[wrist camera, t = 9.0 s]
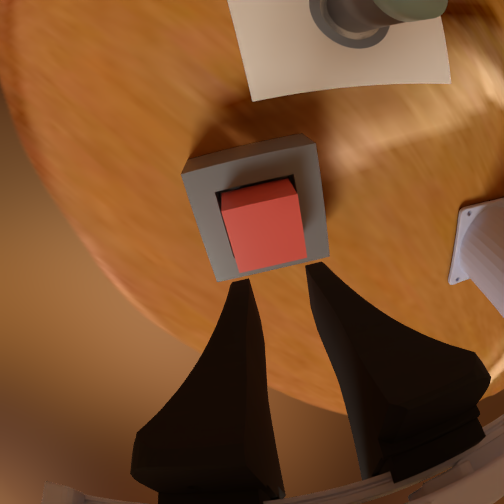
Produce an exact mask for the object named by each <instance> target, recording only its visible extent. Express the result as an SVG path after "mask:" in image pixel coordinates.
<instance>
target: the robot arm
mask: <svg viewBox="0 0 504 504" xmlns="http://www.w3.org/2000/svg"><path fill="white" fill-rule="evenodd" d="M468 211H469V212H468ZM305 268H306V275H307V282H308V290H309V297H310V305H311V309H312V313H313V316H314V320H315V323H316V327H317V330H318V332H319V335H320V337H321V340H322V342H323V345H324V347H325V349H326V352H327V354H328V357H329V359H330V361H331V364H332V366H333V369H334V371H335V374H336V376H337V379H338V382H339V385H340V388H341V392H342V395H343V399H344V402H345V406H346V410H347V414H348V418H349V422H350V426H351V430H352V434H353V438H354V443H355V447H356V452H357V457H358V461H359V466H360V471H361V477H362V481H359V482H356V483H352V484H349V485H345V486H342V487H338V488H334V489H330V490H325V491H321V492H317V493H312V494H307V495H302V496H296V497H291V498H285V499H283V498H284V497H285V490H284V486H283V480H282V475H281V470H280V465H279V459H278V454H277V449H276V444H275V437H274V432H273V426H272V420H271V414H270V408H269V402H268V392H267V375H266V358H265V343H264V336H263V331H262V325H261V320H260V316H259V312H258V309H257V305H256V301H255V298H254V294H253V291H252V287H251V284H250V280H249V279H245V280H240V281H236V282H232V284H231V285H230V289H229V292H228V296H227V299H226V302H225V305H224V308H223V310H222V313H221V315H220V318H219V320H218V323H217V325H216V327H215V330H214V332H213V334H212V336H211V338H210V340H209V342H208V344H207V346H206V348H205V350H204V352H203V353H202V355H201V357H200V358H199V360H198V362H197V363H196V365H195V367H194V368H193V370H192V371H191V372H190V374H189V376H188V377H187V378H186V380H185V381H184V383H183V384H182V385H181V387H180V388H179V389H178V391H177V392H176V393H175V394H174V395H173V396H172V397H171V399H170V400H169V401H168V402H167V403H166V404H165V406H164V407H163V408H162V409H161V410H160V411H159V412H158V413H157V414H156V415H155V416H154V417H153V418H152V419H151V420H150V421H149V422H148V423H147V424H146V425H145V426H144V427H143V428H141V429H140V430H139V431H138V432H137V434H136V439H135V442H134V446H133V453H132V463H131V473H130V474H131V475H132V477H133V478H134V479H135V480H137V481H138V482H139V483H141V484H143V485H145V486H147V487H149V488H151V489H153V490H155V491H157V492H159V495H158V504H360V503H363V502H367V501H370V500H373V499H376V498H379V497H382V496H385V495H388V494H391V493H393V492H396V491H399V490H401V489H404V488H406V487H409V486H411V485H414V484H416V483H418V482H421V481H423V480H425V479H427V478H430V477H432V476H434V475H436V474H438V473H440V472H442V471H444V470H446V469H448V468H450V467H452V466H453V467H452V468H451V469H449V470H447V471H446V472H444V473H442V474H441V475H438V476H437V477H435V478H433V479H431V480H429V481H427V482H425V483H423V485H422V487H421V488H419V489H418V490H417V491H415V492H413V493H412V494H410V495H409V496H408V498H409V502H408V503H405V504H493V503H495V502H496V501H497V500H499V499H500V498H501V497H503V496H504V414H503V415H502V416H500V417H499V418H497V419H496V420H494V421H493V422H491V423H489V424H488V425H486V426H484V427H483V428H482V426H481V424H480V422H479V420H478V418H477V417H478V416H479V415H480V411H479V410H478V408H477V406H476V404H477V403H478V402H479V400H480V399H481V397H482V396H483V394H484V393H485V392H486V390H487V388H488V386H489V384H490V380H491V376H490V374H489V373H488V371H487V369H486V368H485V366H484V364H483V363H482V361H481V360H480V359H479V357H478V356H477V355H476V353H475V352H472V351H469V350H465V349H462V348H459V347H455V346H452V345H449V344H446V343H443V342H441V341H438V340H435V339H433V338H430V337H428V336H426V335H423V334H421V333H419V332H417V331H415V330H413V329H411V328H409V327H407V326H405V325H403V324H401V323H400V322H398V321H396V320H394V319H393V318H391V317H389V316H388V315H386V314H385V313H383V312H382V311H380V310H379V309H377V308H376V307H374V306H373V305H372V304H370V303H369V302H368V301H366V300H365V299H364V298H362V297H361V296H360V295H358V294H357V293H356V292H355V291H354V290H352V289H351V288H350V287H349V286H348V285H347V284H345V283H344V282H343V281H342V280H341V279H340V278H339V277H338V276H337V275H335V274H334V273H333V272H332V271H331V270H330V269H329V268H328V267H327V266H326V265H325V264H324V263H323V262H318V263H314V264H310V265H306V266H305ZM469 278H470V279H471V280H472V281H473V282H474V283H475V284H476V285H477V286H478V288H479V289H480V290H481V291H482V292H483V293H484V295H485V296H486V297H487V298H488V299H489V300H490V302H491V303H492V304H493V305H494V306H495V308H496V309H497V310H498V311H499V313H500V314H501V315H502V316H503V318H504V198H500V199H496V200H492V201H487V202H483V203H479V204H475V205H470V206H466V207H463V208H461V209H460V211H459V217H458V225H457V232H456V239H455V245H454V252H453V257H452V263H451V268H450V273H449V278H448V282H449V284H450V285H453V284H456V283H458V282H461V281H464V280H466V279H469ZM41 504H145V503H135V502H125V501H118V500H111V499H106V498H99V497H94V496H89V495H84V494H83V493H82V492H80V491H78V490H76V489H74V488H71V487H68V486H64V485H60V484H56V483H52V482H49V481H46V482H45V485H44V491H43V496H42V503H41Z"/></svg>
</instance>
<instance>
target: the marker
mask: <svg viewBox="0 0 504 504" xmlns="http://www.w3.org/2000/svg"><path fill="white" fill-rule="evenodd" d="M447 3H448V0H327V11H328V13H329V16H330V17H331V19H332V20H333V21H334V22H335V23H336V24H337V25H338V26H339V27H341V28H342V29H344V30H346V31H349V32H353V33H361V32H366V31H369V30H373V29H377V28H382V27H386V26H390V25H395V24H399V23H404V22H415V21H421V20H427V19H433V18H437V17H439V16H440V15H442V14H443V13H444V11H445V9H446V7H447Z"/></svg>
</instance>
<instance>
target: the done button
mask: <svg viewBox="0 0 504 504" xmlns="http://www.w3.org/2000/svg"><path fill="white" fill-rule="evenodd" d="M221 212H222V216H223V219H224V222H225V226H226V229H227V233H228V236H229V240H230V243H231V246H232V250H233V253H234V256H235V260H236V263H237V267H238V270H239V273H243V272H247V271H251V270H256V269H260V268H265V267H269V266H273V265H278V264H282V263H286V262H291V261H295V260H299V259H304V258H307V253H306V246H305V239H304V232H303V225H302V219H301V213H300V206H299V200H298V194H297V192H296V191H295V189H294V187H293V186H292V184H291V182H290V181H289V179H288V178H285V179H281V180H276V181H272V182H267V183H263V184H258V185H254V186H249V187H245V188H241V189H237V190H233V191H228V192H224V193H222V201H221Z"/></svg>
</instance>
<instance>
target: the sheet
mask: <svg viewBox="0 0 504 504" xmlns="http://www.w3.org/2000/svg"><path fill="white" fill-rule="evenodd" d="M227 1H228V5H229V9H230V13H231V17H232V21H233V24H234V28H235V32H236V36H237V40H238V44H239V48H240V52H241V56H242V60H243V64H244V69H245V73H246V77H247V81H248V85H249V90H250V94H251V98H252V102H254V101H259V100H264V99H269V98H274V97H280V96H286V95H292V94H298V93H304V92H311V91H319V90H326V89H335V88H344V87H355V86H368V85H384V84H415V83H432V84H451V76H450V68H449V60H448V53H447V47H446V41H445V35H444V30H443V25H442V20H441V16H439V17H437V18H433V19H427V20H421V21H415V22H404V23H399V24H395V25H390V26H386V27H382V28H377V29H373V30H369V31H366V32H361V33H353V32H349V31H346V30H344V29H342V28H341V27H339V26H338V25H337V24H336V23H335V22H334V21H333V20H332V19H331V17H330V16H329V13H328V11H327V0H227Z"/></svg>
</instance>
